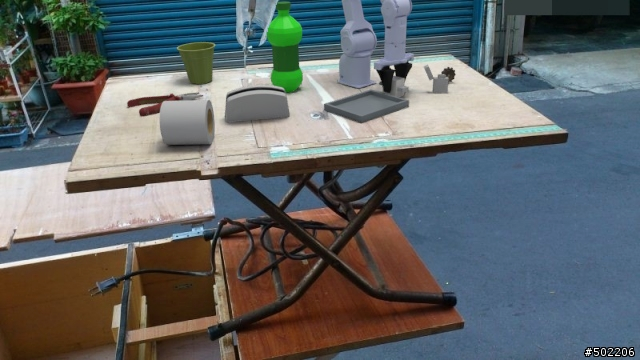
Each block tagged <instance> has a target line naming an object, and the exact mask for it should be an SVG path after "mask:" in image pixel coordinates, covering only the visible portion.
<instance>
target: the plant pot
mask: <svg viewBox="0 0 640 360" xmlns="http://www.w3.org/2000/svg"><path fill="white" fill-rule="evenodd" d="M215 47H216V44H215V43H214V42H208V41H207V42H206V41H203V42H202V41H200V42H199V41H198V42H190V43H185V44H181V45H179V46H177V47H176V50H177V51H178V53H179V55H180V58H181V59H182V63H183V65H184V69H185V72H186V74H187V79H188V81H189V83H191V85H192V84H196V85H203V84H208V83H209V82H212V81H213V76H214V75H213V74H214V73H213V71H214V69H213V67H214V65H213V64H214V54H215V53H214V52H215Z"/></svg>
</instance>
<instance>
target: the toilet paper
mask: <svg viewBox="0 0 640 360" xmlns="http://www.w3.org/2000/svg"><path fill="white" fill-rule="evenodd" d="M215 122H216V121H215V112H214V107H213V104H212V101H211V100H210V99H196V100H195V99H193V100H186V101H164V102H163V103H162V105H161V108H160V112H159V130H160V135H161V136H160V137H161V139H162V141H163V143H164V144H165V145H166V146H182V145H183V146H185V145H188V146H189V145H212V144H213V143H214V139H215V130H216V129H215V125H216V123H215Z"/></svg>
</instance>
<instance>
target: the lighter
mask: <svg viewBox="0 0 640 360" xmlns="http://www.w3.org/2000/svg"><path fill="white" fill-rule="evenodd" d="M423 68H424V70H425V73H426V76H427V78H428V80H429V81H432V90H431V92H432V94H448V93H449V83H448V81H449V78H448V77H446V75H444V74H441V73H437V76H433V73H432V71H431V69H430V66H429V64H425V65H424V66H423Z"/></svg>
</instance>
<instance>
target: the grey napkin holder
mask: <svg viewBox="0 0 640 360" xmlns="http://www.w3.org/2000/svg"><path fill="white" fill-rule="evenodd" d="M225 95H226V96H225V109H224V119H225V122H226V123H232V122H243V121H245V122H246V121H256V119H257V120H265V119H266V120H267V119H268V120H269V119H279V117H280V118H289V117H290V116H291V113H290V106H289V102H288V101H289V100H288V95H287V92H286V91H285V90H284V88H282V87H278V86H274V85H273V84H272V85H271V84H270V85H269V84H253V85H245V86H241V87H238V88H235V89H231V90H229V91H227V93H226V94H225Z"/></svg>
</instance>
